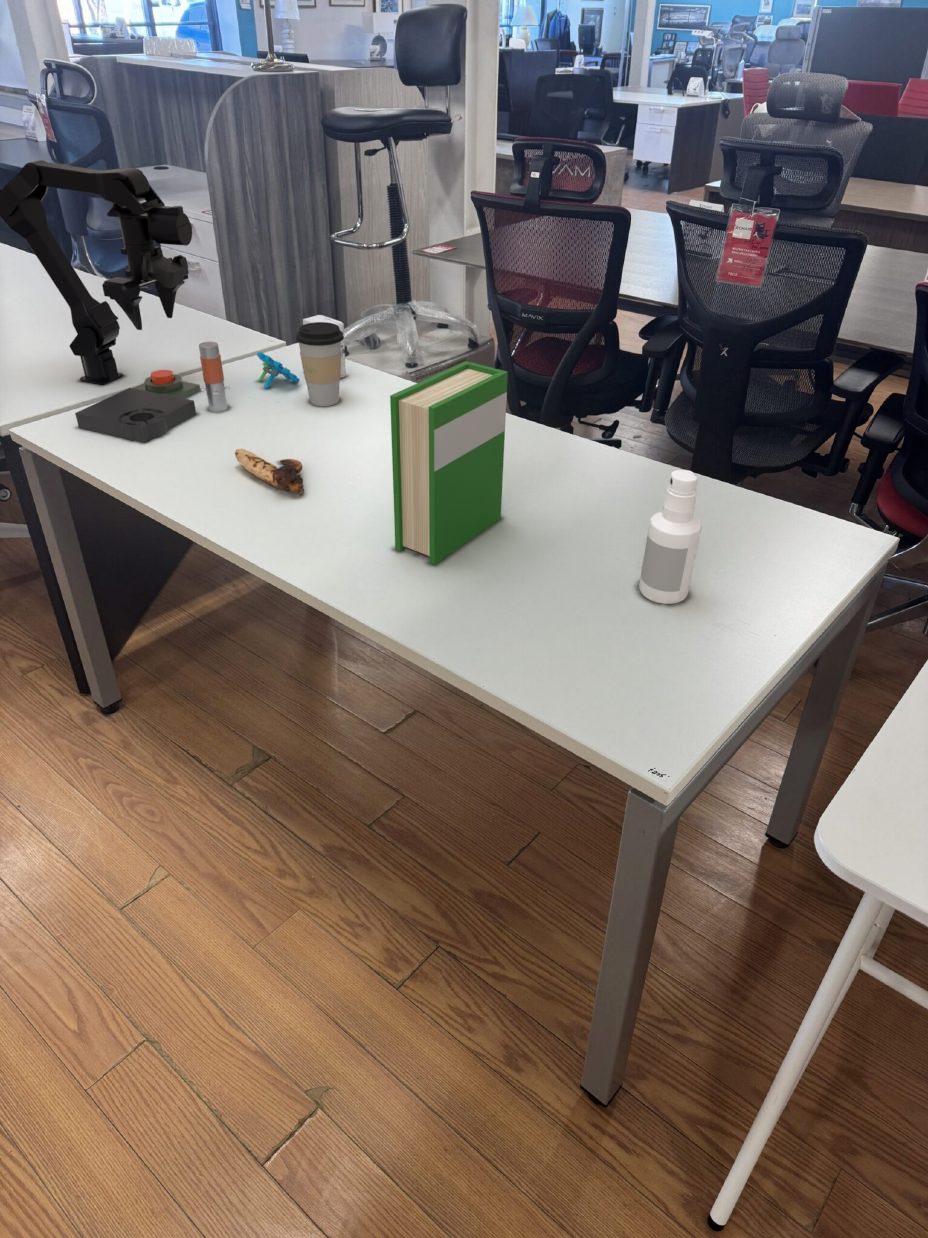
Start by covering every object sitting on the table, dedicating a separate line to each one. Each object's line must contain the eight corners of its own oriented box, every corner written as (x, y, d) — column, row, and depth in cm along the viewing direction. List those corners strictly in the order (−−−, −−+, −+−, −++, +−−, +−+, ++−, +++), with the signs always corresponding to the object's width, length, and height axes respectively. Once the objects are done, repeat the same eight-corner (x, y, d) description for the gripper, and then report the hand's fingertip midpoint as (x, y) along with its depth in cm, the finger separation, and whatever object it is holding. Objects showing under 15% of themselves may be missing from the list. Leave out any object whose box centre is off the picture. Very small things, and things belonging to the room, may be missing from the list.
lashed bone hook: (331, 488, 144) (269, 453, 154) (330, 462, 142) (267, 429, 151) (285, 504, 139) (224, 467, 148) (284, 478, 136) (221, 441, 146)
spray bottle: (633, 578, 122) (651, 464, 111) (679, 577, 122) (702, 463, 112) (645, 605, 116) (666, 487, 106) (693, 604, 117) (719, 486, 106)
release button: (147, 383, 175) (146, 374, 174) (161, 376, 178) (160, 368, 177) (164, 386, 173) (163, 378, 172) (178, 379, 176) (177, 371, 175)
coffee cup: (293, 405, 173) (285, 331, 164) (316, 390, 180) (310, 318, 171) (333, 412, 170) (328, 337, 162) (355, 396, 177) (351, 324, 169)
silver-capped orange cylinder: (204, 415, 168) (193, 349, 160) (203, 404, 172) (192, 340, 165) (233, 412, 169) (224, 347, 162) (231, 402, 174) (222, 338, 166)
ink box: (305, 372, 189) (300, 318, 182) (323, 366, 192) (319, 313, 185) (330, 381, 184) (326, 327, 178) (348, 376, 187) (344, 322, 181)
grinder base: (77, 428, 162) (73, 413, 160) (132, 401, 173) (129, 387, 171) (147, 443, 156) (144, 428, 155) (199, 415, 168) (197, 400, 166)
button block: (130, 396, 175) (126, 382, 174) (159, 382, 182) (156, 368, 180) (172, 405, 172) (170, 390, 170) (200, 390, 179) (198, 376, 177)
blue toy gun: (308, 380, 180) (271, 352, 173) (293, 404, 180) (255, 376, 173) (287, 372, 188) (251, 345, 181) (273, 395, 188) (236, 368, 181)
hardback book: (434, 565, 124) (434, 408, 110) (395, 549, 127) (390, 395, 113) (500, 518, 136) (507, 371, 122) (463, 505, 139) (465, 360, 125)
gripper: (139, 256, 155) (155, 341, 164) (203, 237, 169) (215, 316, 178) (92, 249, 158) (110, 334, 167) (158, 231, 172) (172, 310, 181)
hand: (155, 323), depth 173 cm, fingers open, 9 cm apart
